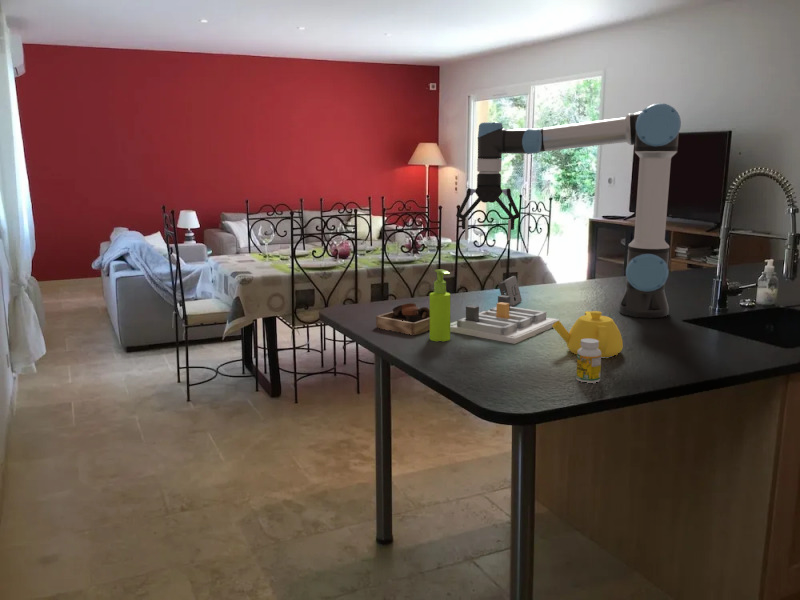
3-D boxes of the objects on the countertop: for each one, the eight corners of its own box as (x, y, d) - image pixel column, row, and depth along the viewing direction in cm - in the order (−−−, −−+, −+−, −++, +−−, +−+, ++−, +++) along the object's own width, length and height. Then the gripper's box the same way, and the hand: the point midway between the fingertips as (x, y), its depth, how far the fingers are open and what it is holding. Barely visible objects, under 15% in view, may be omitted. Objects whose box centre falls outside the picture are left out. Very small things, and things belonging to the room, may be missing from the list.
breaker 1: (479, 325, 205) (479, 306, 204) (473, 327, 203) (473, 308, 202) (470, 323, 207) (470, 304, 206) (465, 325, 205) (465, 306, 203)
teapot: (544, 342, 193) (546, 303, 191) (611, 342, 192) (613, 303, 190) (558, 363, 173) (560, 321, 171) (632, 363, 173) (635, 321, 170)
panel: (559, 324, 212) (559, 313, 211) (514, 343, 191) (514, 331, 190) (492, 313, 226) (492, 302, 226) (444, 330, 206) (444, 318, 205)
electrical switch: (513, 306, 236) (511, 280, 234) (498, 306, 238) (497, 280, 237) (522, 301, 244) (520, 275, 242) (508, 301, 246) (506, 275, 245)
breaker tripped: (509, 321, 209) (509, 303, 207) (504, 323, 206) (504, 304, 205) (500, 320, 211) (501, 301, 209) (495, 322, 208) (496, 303, 207)
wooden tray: (448, 323, 214) (448, 312, 213) (414, 335, 201) (414, 323, 200) (410, 317, 223) (409, 306, 222) (375, 327, 210) (375, 316, 209)
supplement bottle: (604, 382, 159) (607, 342, 157) (586, 385, 157) (588, 344, 155) (589, 375, 164) (591, 336, 162) (571, 378, 162) (573, 339, 160)
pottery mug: (393, 332, 206) (387, 306, 208) (398, 338, 215) (392, 313, 217) (432, 322, 205) (426, 296, 207) (435, 329, 214) (429, 304, 216)
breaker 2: (510, 314, 219) (510, 296, 217) (505, 315, 216) (505, 297, 215) (502, 312, 220) (502, 294, 219) (497, 314, 218) (497, 296, 217)
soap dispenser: (438, 343, 192) (438, 272, 188) (425, 337, 198) (425, 269, 194) (456, 340, 195) (456, 270, 191) (443, 335, 201) (443, 267, 197)
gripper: (528, 172, 220) (526, 238, 225) (450, 172, 223) (449, 237, 228) (529, 173, 213) (527, 241, 218) (448, 173, 216) (448, 240, 221)
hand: (487, 239), depth 223 cm, fingers open, 13 cm apart
